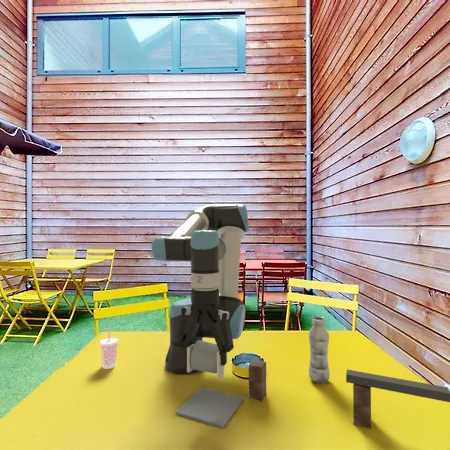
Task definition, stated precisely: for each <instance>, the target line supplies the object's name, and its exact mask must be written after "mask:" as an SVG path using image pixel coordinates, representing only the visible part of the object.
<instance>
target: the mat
mask: <svg viewBox="0 0 450 450" xmlns="http://www.w3.org/2000/svg"><path fill="white" fill-rule="evenodd" d="M244 401H245V397H244V396H240V395H236V394H232V393H227V392H224V391H220V390H215V389H213V388H212V389H211V388H207V387H203V386H201V387H200V388H199V389H198V390H197V391H196V392H195V393H194V394H193V395H191V396H190V398H189V399H187V401H186V402H184V403H183V405H181V406H180V407H179V408H178V409H177V410H176V411H175V414H176V416H177V415H178V416H180V417H184V418H187V419H191V420H195V421H197V422H202V423H203V424H207V425H211V426H214V427H217V428H220V429H224V428H226V426H227V425H228V423H229V422H230V420H232V417H233V416H234V415H235V413H236V412H237V410H238V409H239V408H240V406H241V405H242V403H244Z"/></svg>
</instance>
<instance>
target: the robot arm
mask: <svg viewBox="0 0 450 450" xmlns="http://www.w3.org/2000/svg"><path fill="white" fill-rule="evenodd" d="M249 231H250V224H249V215H248V209H247V206H246V204H244V203H235V202H234V203H221V204H219V203H218V204H216V203H212V204H211V203H210V204H205V205H203V206H199V207H198V208H195V209H194V210H192V211H190V212H189V213H188V215H187V216H186V218H185V220H184V221H183V222H182V223H181V224H180V225H179V226H178V227H177V228H175V229H174V230H173V231H172V232H171V233H170V234H169V235H167V236H165V235H161V236H155V238H153V240H152V244H151V254H152V257H153V259H154V260H155V261H160V262H190V287H191V288H192V289H190V298H184V299H181V300H177V301H175V302H173V303H172V304H171V305H170V311H169V347H168V349H167V354H166V356H165V360H164V367H165V370H166V371H168V372H169V373H172V374H175V375H184V376H185V375H193V374H196V373H200V372H201V371H198V370H193V369H192V368H191V362H190V360H191V352H192V349H193V346H194V344H195V343H196V342H197V341H198V340H201V341H204V340H203V338H205V339H214V341H215V344H217V346H218V349H219V352H218V353H217V373H216V379H217V380H220V379H221V378H222V377H223V376H224V375H225V366H226V364H227V362H228V353H230V352H231V351H232V350H234V347H235V346H234V345H235V344H234V340H237V339H239V338H241V336H242V332H243V331H244V326H245V319H246V306H245V305H244V304H242V299H241V298H240V297H239V295H238V294H239V278H240V277H239V276H240V262H241V247H242V246H241V245H242V239H243V238H245V237H246V233H248V232H249ZM224 365H225V366H224Z"/></svg>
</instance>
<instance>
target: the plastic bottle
mask: <svg viewBox="0 0 450 450" xmlns="http://www.w3.org/2000/svg"><path fill="white" fill-rule="evenodd" d="M325 325H326V322H325V318H324V317H320V316H319V317H318V316H315V317H312V326H311V328H310V329H309V331H308V334H307V335H308V343H309V351H310V357H309V366H308V376H309V379H310V380H311V381H312V382H314V383H316V384H327V382H328V381H329V380H330V376H331V372H330V368H329V361H328V356H329V355H328V352H329V351H328V350H329V343H330V342H329V341H330V334H329V331H328V330H327V328H326V327H325Z"/></svg>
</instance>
